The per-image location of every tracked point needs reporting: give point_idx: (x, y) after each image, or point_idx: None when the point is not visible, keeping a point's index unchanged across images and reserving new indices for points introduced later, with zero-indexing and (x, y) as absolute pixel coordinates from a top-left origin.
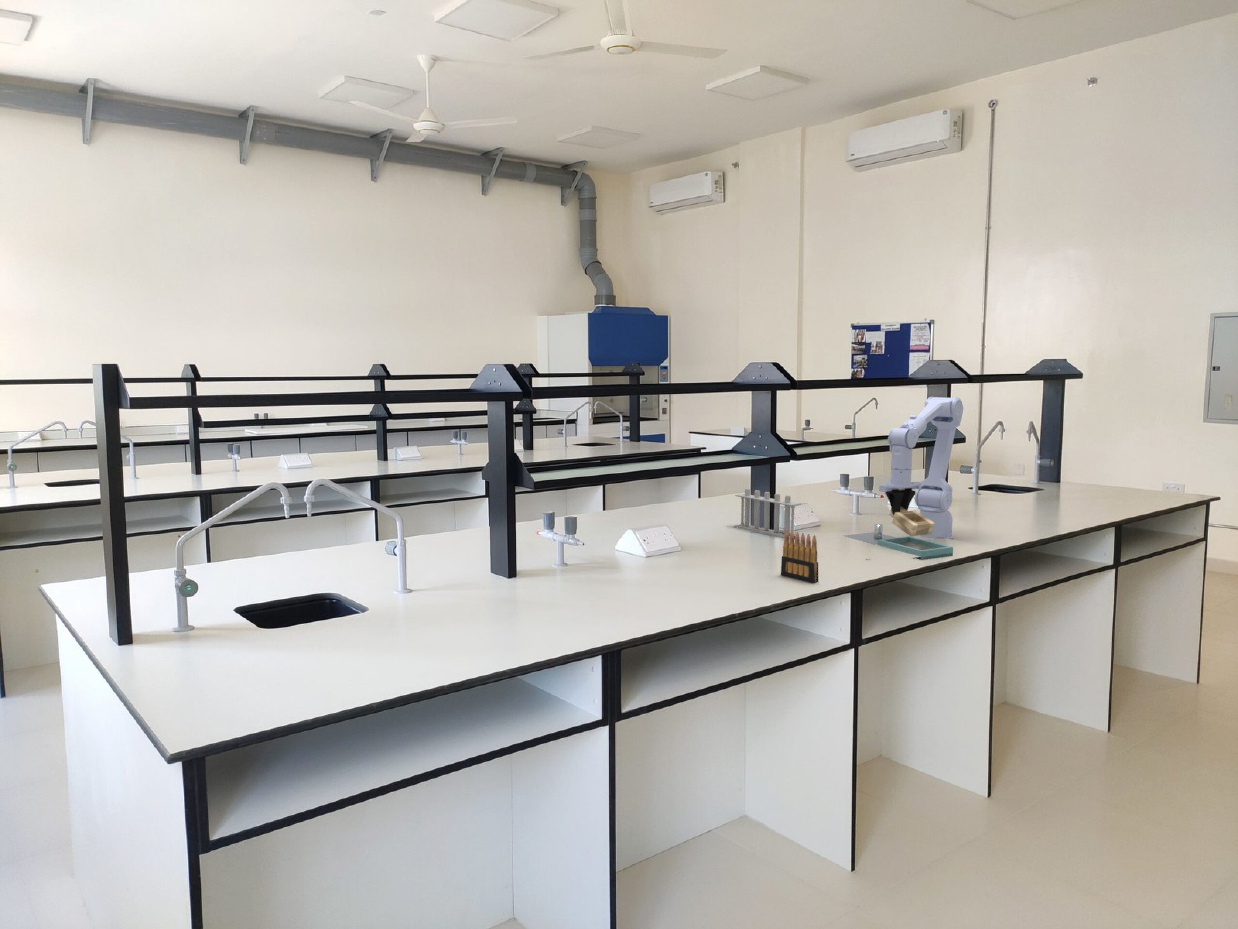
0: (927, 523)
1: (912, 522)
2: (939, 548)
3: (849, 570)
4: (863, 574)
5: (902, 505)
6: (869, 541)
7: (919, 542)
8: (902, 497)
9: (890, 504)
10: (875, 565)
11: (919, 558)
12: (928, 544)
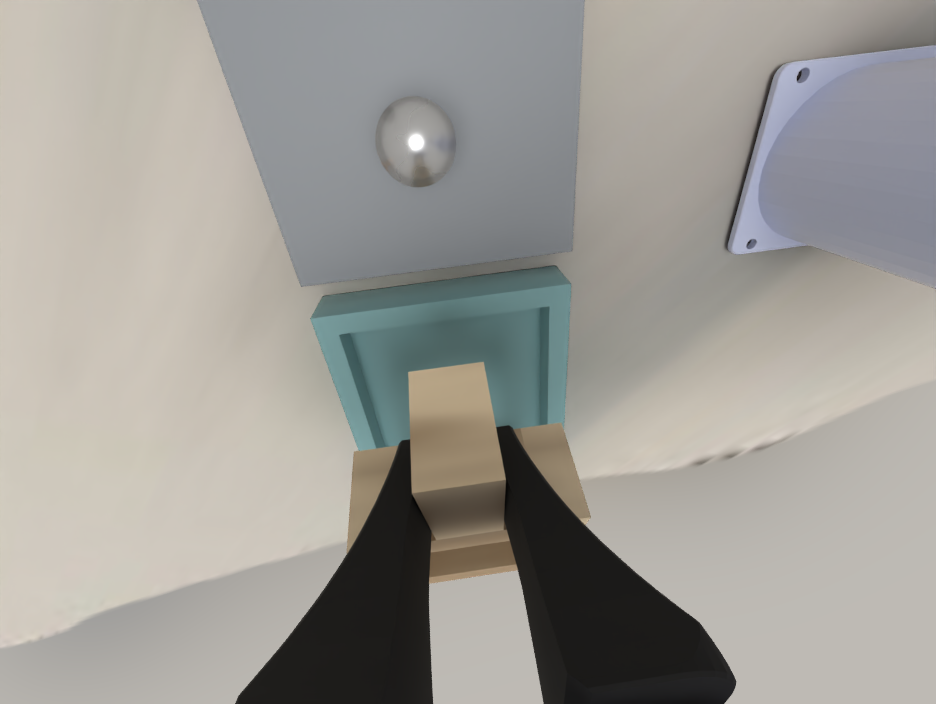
0: (507, 571)
1: None
2: None
3: (45, 558)
4: (93, 590)
5: (512, 519)
6: (306, 201)
7: (544, 370)
8: (537, 617)
9: (366, 522)
10: (175, 527)
11: None
12: (544, 417)
